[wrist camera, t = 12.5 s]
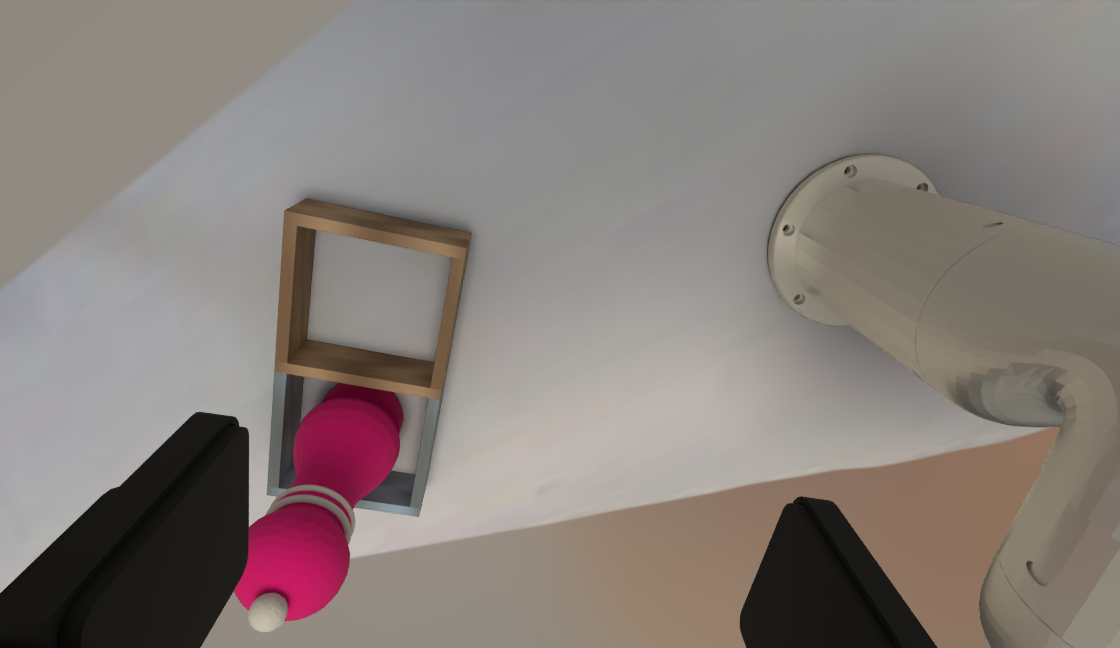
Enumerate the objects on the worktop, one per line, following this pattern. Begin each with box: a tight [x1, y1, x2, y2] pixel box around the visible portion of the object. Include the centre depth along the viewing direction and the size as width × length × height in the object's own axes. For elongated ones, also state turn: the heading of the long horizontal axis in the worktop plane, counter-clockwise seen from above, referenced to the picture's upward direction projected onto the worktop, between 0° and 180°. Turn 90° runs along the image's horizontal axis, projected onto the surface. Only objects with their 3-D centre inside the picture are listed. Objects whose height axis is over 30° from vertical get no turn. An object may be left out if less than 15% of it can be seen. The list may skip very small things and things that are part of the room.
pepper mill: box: [234, 383, 403, 632], centre depth 38 cm, size 7×7×20 cm
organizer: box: [267, 199, 472, 517], centre depth 44 cm, size 11×22×4 cm, turn 167°
